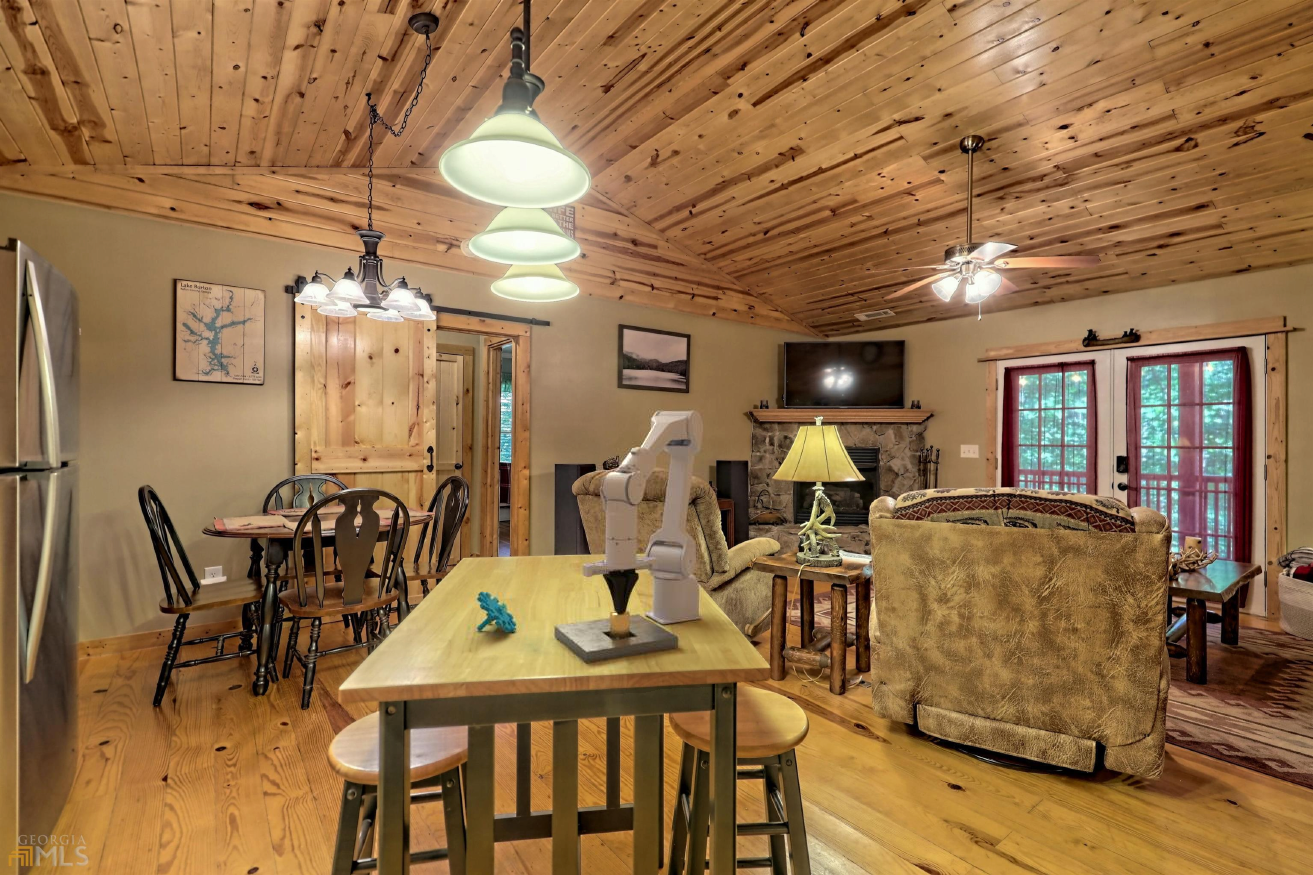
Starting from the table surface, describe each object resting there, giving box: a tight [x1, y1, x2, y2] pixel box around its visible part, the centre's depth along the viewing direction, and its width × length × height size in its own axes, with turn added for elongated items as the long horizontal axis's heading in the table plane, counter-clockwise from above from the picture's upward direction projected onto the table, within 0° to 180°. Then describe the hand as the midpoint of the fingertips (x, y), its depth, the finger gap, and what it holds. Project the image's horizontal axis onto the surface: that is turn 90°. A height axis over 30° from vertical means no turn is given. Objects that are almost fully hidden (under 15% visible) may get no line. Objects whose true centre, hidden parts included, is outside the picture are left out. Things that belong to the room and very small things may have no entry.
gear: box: [476, 591, 517, 633], centre depth 124 cm, size 11×6×10 cm
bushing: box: [609, 610, 631, 640], centre depth 117 cm, size 4×4×6 cm
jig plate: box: [553, 614, 679, 664], centre depth 118 cm, size 18×16×2 cm
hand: (620, 611), depth 116 cm, fingers closed
